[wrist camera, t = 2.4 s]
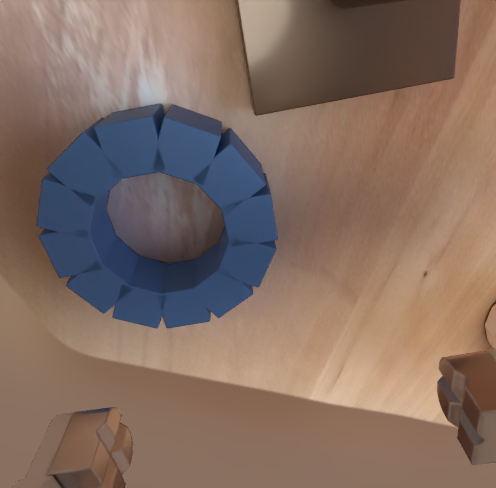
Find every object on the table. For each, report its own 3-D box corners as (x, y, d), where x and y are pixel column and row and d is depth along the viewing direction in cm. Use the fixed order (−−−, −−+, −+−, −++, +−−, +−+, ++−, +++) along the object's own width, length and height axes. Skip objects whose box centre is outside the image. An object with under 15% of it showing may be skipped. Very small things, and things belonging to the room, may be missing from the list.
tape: (105, 308, 25) (90, 341, 22) (24, 129, 19) (-8, 145, 16) (281, 278, 24) (288, 308, 21) (251, 85, 19) (255, 95, 16)
